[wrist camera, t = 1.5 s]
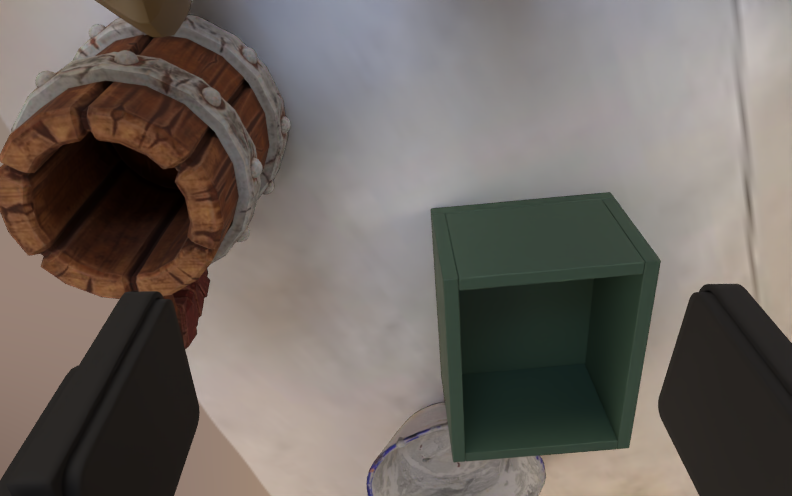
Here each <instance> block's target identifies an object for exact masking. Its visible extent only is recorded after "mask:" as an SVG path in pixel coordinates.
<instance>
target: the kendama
mask: <svg viewBox="0 0 792 496" xmlns="http://www.w3.org/2000/svg"><path fill="white" fill-rule="evenodd" d="M95 1H97V2H98V3H100V4H101V5H103V6H104V7H106V8H107V9H109V10H110V11H111V12H113V13H114V14H116V15H117V16H119V17H120V18H122V19H123V20H124V21H126V22H127V23H129V24H131V25H132V26H134V27H135V28H137V29H138V30H140V31H141V32H143V33H145V34H147V35H149V36H151V37H167V36H172V35H175V33H176V32H177V31H178V29H179V28H180V26H181V25H182V23H183V21H184V20H185V18H186V17H187V15H188V13H189V9H190V5H191V1H192V0H95Z"/></svg>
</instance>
